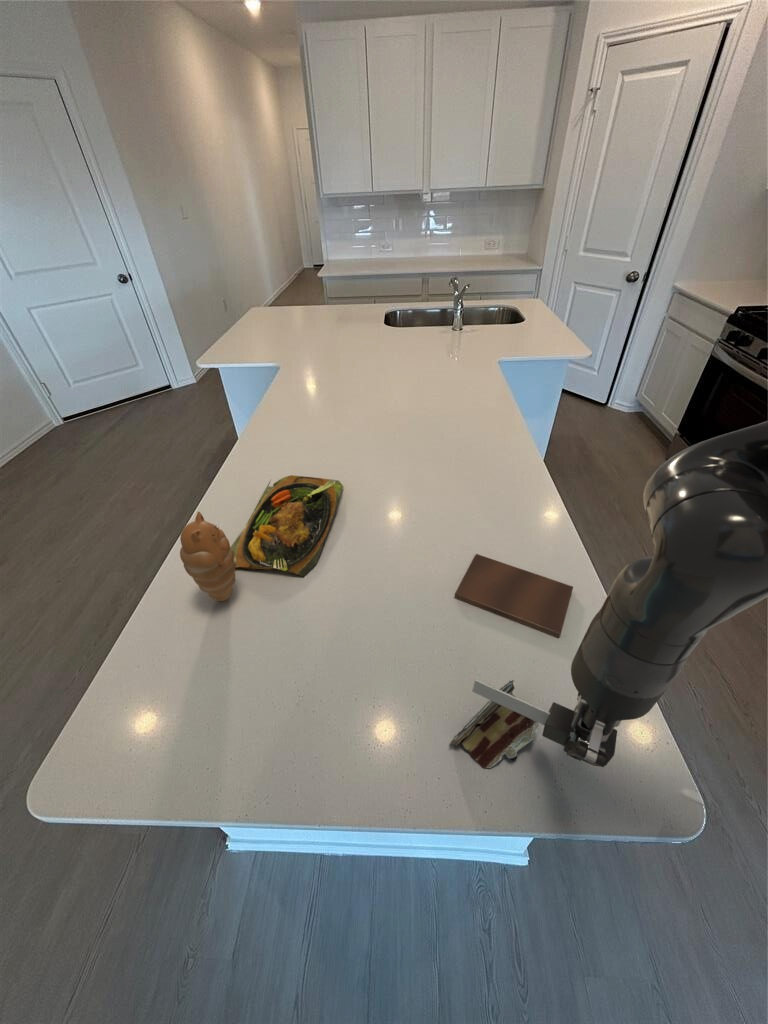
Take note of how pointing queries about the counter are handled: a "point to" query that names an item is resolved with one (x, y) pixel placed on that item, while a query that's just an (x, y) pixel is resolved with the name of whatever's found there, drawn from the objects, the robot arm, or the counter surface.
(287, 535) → the prepared meal
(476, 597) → the board
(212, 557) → the cat ice cream
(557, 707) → the knife
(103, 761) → the counter surface
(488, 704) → the chocolate cake
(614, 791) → the counter surface
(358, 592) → the counter surface
